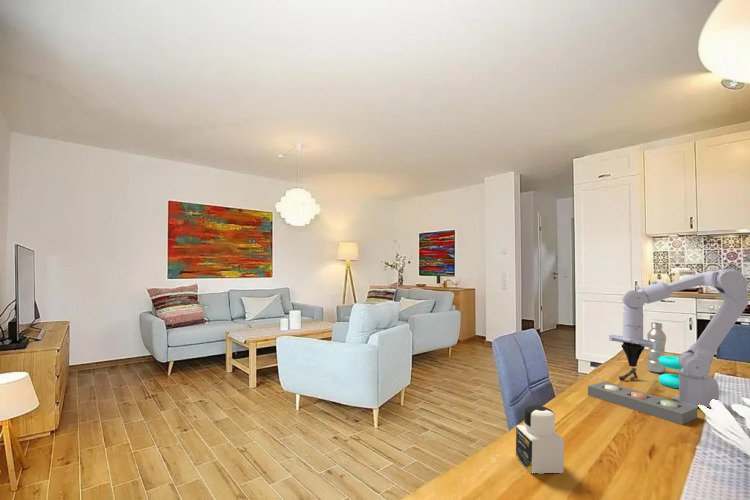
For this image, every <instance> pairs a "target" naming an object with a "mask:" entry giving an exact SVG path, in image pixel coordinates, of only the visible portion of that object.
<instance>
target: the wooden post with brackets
mask: <svg viewBox="0 0 750 500" xmlns="http://www.w3.org/2000/svg"><path fill="white" fill-rule="evenodd" d="M636 371H637V368H636V367H632V368H631V369H630V370H629V371H627V372H626V373H625V374H623V375H622V376H621V375H619V376H618V378H619V381H622V380H623V381H622V382H624V381H625V382H626V378H629V381H634V380H636V379H639V378H638V375H637V373H636ZM631 375H632V376H631Z"/></svg>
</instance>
